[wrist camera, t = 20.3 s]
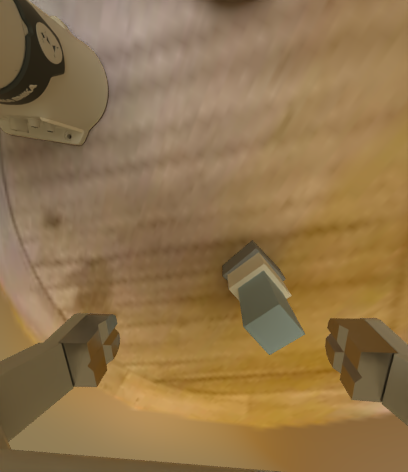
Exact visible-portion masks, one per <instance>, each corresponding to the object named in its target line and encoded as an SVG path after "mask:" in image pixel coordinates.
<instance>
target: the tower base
mask: <svg viewBox="0 0 408 472" xmlns="http://www.w3.org/2000/svg"><path fill="white" fill-rule="evenodd" d="M258 252H259V253H260V254H261V255H262V257H263V258H264V259H265V260H266V261H267V263H268V264H269V265H270V266H271V267H272V269H273V270H274V271H275V272H276V273H277V275H278V276H279V277H280V278H281V279H282V281H284V280H285V277H284V276H283V274H282V272H281V271H280V269H279V268H278V267H277V266H276V265H275V264H274V262H273V261H272V260H271V259H270V258H269V257H268V256H267V255H266V254H265V253H264V252H263V251H262V250H261V249H260V248H259V247H258V246H257V244H256V243H255V242H254V241H253V240H252V241H251V242H250V243H248V244H247V245H246V246H245V247H244V248H243V249H241V250H240V251H239V252H238V253H237V254H235V255H234V256H233V257H232V258H231V259H230V260H228V261H227V262H226V263H225V264H224V265H223V277H224V278H225V279H226V280H227V281H228V274H229V273H231V272H232V271H234V270H235V269H236V268H238V267H239V266H241V265H242V264H243V263H245V262H246V261H247V260H249V259H250V258H252V257H253V256H254V255H256V254H257V253H258Z"/></svg>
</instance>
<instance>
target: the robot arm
mask: <svg viewBox="0 0 408 472" xmlns="http://www.w3.org/2000/svg"><path fill="white" fill-rule="evenodd" d="M107 98H108V84H107V78H106V74H105V71H104V68H103V66H102V64H101V62H100V60H99V59H98V57H97V56H96V54H95V53H94V52H93V51H92V49H91V48H89V47H88V46H87V45H86V44H85V43H83V42H82V41H80V40H79V39H77V38H76V37H74V36H73V35H72V34H71V32H70V31H69V29H68V28H67V27H66V25H65V24H64V23H63V22H62V21H61V20H60V19H58V18H57V17H55V16H48V15H47V14H46V13H44V12H43V11H42V10H41V9H39V8H38V7H37V6H35V5H34V4H33V3H31V2H30V1H29V0H0V128H1V129H2V130H3V131H4V132H5V133H7V134H10V135H15V136H21V137H27V138H34V139H40V140H46V141H53V142H59V143H65V144H72V145H82V144H83V143H84V142H85V140H86V137H87V135H88V132H89V130H90V129H91V128H92V127H93V126H94V125H95V124H96V123H97V122H98V121H99V119H100V118H101V116H102V114H103V112H104V110H105V107H106V104H107ZM70 135H71V136H72V138H71V139H70ZM116 325H117V320H116V316H114V315H113V314H92V313H90V314H88V313H77V314H74V315H73V316H72V317H71V318H70V319H69V320H67V321H66V322H65V323H64V324H63V325H62V326H61V327H60V328H59V329H58V330H57V331H55V332H54V333H53V334H52V335H51V336H50V337H49V338H48V339H47V340H46V341H45V342H43V343H38V344H35V345H33V346H31V347H29V348H27V349H25V350H23V351H21V352H19V353H17V354H15V355H13V356H11V357H9V358H7V359H4V360H2V361H0V472H278V471H266V470H254V469H241V468H229V467H218V466H205V465H192V464H181V463H169V462H157V461H145V460H132V459H120V458H108V457H96V456H84V455H71V454H59V453H47V452H35V451H23V450H11V448H10V445H9V443H8V442H9V441H10V440H11V439H12V438H14V437H15V436H16V435H17V434H19V433H20V432H21V431H22V430H23V429H25V428H26V427H27V426H28V425H29V424H30V423H32V422H33V421H34V420H35V419H37V418H38V417H39V416H40V415H41V414H43V413H44V412H45V411H46V410H47V409H49V408H50V407H51V406H52V405H54V404H55V403H56V402H57V401H58V400H60V399H61V398H62V397H63V396H64V395H66V394H67V393H68V392H69V391H70V390H72V389H73V387H97V386H98V384H99V383H100V381H101V379H102V378H103V376H104V374H105V373H106V371H107V364H108V363H109V362H110V361H112V360H113V359H114V358H115V356H116V354H117V352H118V349H119V345H120V336H119V332H118V331H117V330H116V329H115V326H116ZM327 328H328V330H329V331H330V332H331V334H330V335H329V336H328V337H327V338H326V343H325V348H326V354H327V357H328V360H329V362H330V364H331V365H332V367H333V368H334V369H335V370H337V371H338V372H340V373H341V375H340V381H341V383H342V384H343V386H344V388H345V389H346V391H347V393H348V394H349V396H350V398H351V399H352V400H360V401H372V402H382V404H383V405H384V406H385V407H386V408H387V409H389V410H390V411H391V412H392V413H393V414H394V415H396V416H397V417H398V418H399V419H400V420H402V421H403V422H404V423H405V424H406V425H408V344H407V343H405V342H404V341H403V340H402V339H401V338H400V337H399V336H398V335H396V334H395V333H394V332H393V331H392V330H391V329H390V328H389V327H388V326H386V325H385V324H384V323H383V322H382V321H381V320H379V319H377V318H360V319H341V318H330V320H329V322H328V327H327Z"/></svg>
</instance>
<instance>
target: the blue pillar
mask: <svg viewBox="0 0 408 472" xmlns="http://www.w3.org/2000/svg"><path fill="white" fill-rule="evenodd" d="M238 293H239V300H240V306H241V313H242V320H243V326H244V328H245V329H246V330H247V331H248V332H249V333H250V335H251V336H252V337H253V338H254V339H255V340H256V341H257V342H258V343H259V344H260V345H261V346H262V348H263V349H264V350H265V351H266V352H267V353H268V354H269V355H270V354H272V353H274V352H276V351H277V350H279V349H281V348H282V347H284V346H286V345H288V344H289V343H291V342H293V341H294V340H296V339H298V338H300V337H301V336H303V335H305V333H304V331H303V329H302V327H301V326H300V324H299V322H298V320H297V318H296V316H295V314H294V313H293V311H292V309H291V307H290V305H289V303H288V301H287V300H286V298H285V296H284V294H283V293H282V291H281V290H280V289H279V288H278V287H277V286H276V284H275V283H274V282H273V281H272V280H271V278H270V277H269V276H268V275H267V274H266V273H265V271H264V270H263V271H262V272H261V273H259V274H258V275H256V276H255V277H253V278H252V279H251V280H249V281H248V282H246V283H245V284H244V285H242V286H241V287H239V288H238Z"/></svg>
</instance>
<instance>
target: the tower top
mask: <svg viewBox="0 0 408 472" xmlns="http://www.w3.org/2000/svg"><path fill="white" fill-rule="evenodd" d="M263 270H264V271H265V273H266V274H267V275H268V276H269V277H270V278H271V280H272V281H273V282H274V283H275V284H276V286H277V287H278V288H279V289H280V290H281V291H282V293H283V294H284V296H285V298H286V299H287V298H289V297H290V296H291V294H290V292H289V291H288V289H287V287H286V286H285V284H284V282H283V281H282V279H281V278H280V277H279V276H278V275H277V273H276V272H275V271H274V270H273V269H272V267H271V266H270V265H269V264H268V263H267V261H266V260H265V259H264V258H263V257H262V255H261V254H260V253H259V252H258V253H257V254H256V255H254V256H253V257H252V258H250V259H249V260H247V261H246V262H245V263H243V264H242V265H241V266H239V267H238V268H236V269H235V270H234V271H232V272H231V273H229V274H228V289H229V290H230V291H231V292H232V293H233V295H234V296H235V297H236V298H237V299H238V300H239V293H238V288H239V287H241V286H242V285H244V284H245V283H246V282H248V281H249V280H251V279H252V278H253V277H255V276H256V275H258V274H259V273H261V272H262V271H263ZM239 301H240V300H239Z"/></svg>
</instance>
